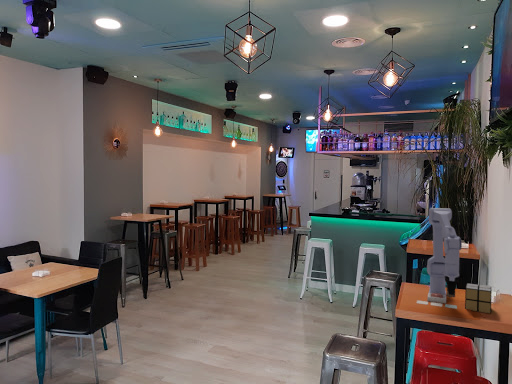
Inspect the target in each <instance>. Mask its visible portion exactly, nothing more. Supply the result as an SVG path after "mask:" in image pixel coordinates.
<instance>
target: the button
mask: <svg viewBox="0 0 512 384" xmlns="http://www.w3.org/2000/svg"><path fill="white" fill-rule="evenodd" d="M431 297H438V298H442V297H443V295H442V294H440V293H432V295H431Z"/></svg>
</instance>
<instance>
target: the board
mask: <svg viewBox="0 0 512 384" xmlns="http://www.w3.org/2000/svg"><path fill="white" fill-rule="evenodd" d="M416 304H418V305H419V304H420V305H429V301H427V300H426V301H424V300H418V299H417V300H416ZM444 304H445V305H444V308H449V309H458V305H455V304H447V303H444ZM430 306H434V307H441V308H442V307H443V303H440V302H432V301H430Z"/></svg>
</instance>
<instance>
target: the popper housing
mask: <svg viewBox="0 0 512 384" xmlns="http://www.w3.org/2000/svg"><path fill="white" fill-rule="evenodd" d="M431 295H432V293H429V292H428V293H427V300H426V302H433V303H441V304H447V294H446V295H443V294H442V295H443V297H442V298H438V297H431Z"/></svg>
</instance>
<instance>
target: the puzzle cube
mask: <svg viewBox="0 0 512 384" xmlns="http://www.w3.org/2000/svg"><path fill="white" fill-rule="evenodd" d="M492 290H493V289H492V286H490V285H483V284H474V283H466V286H465V292H464V293H465V295H464V296H465V298H464V299H465V300H464V309H466V310H470V311H471V312H479V313H482V314H492V293H493V292H492Z"/></svg>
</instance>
